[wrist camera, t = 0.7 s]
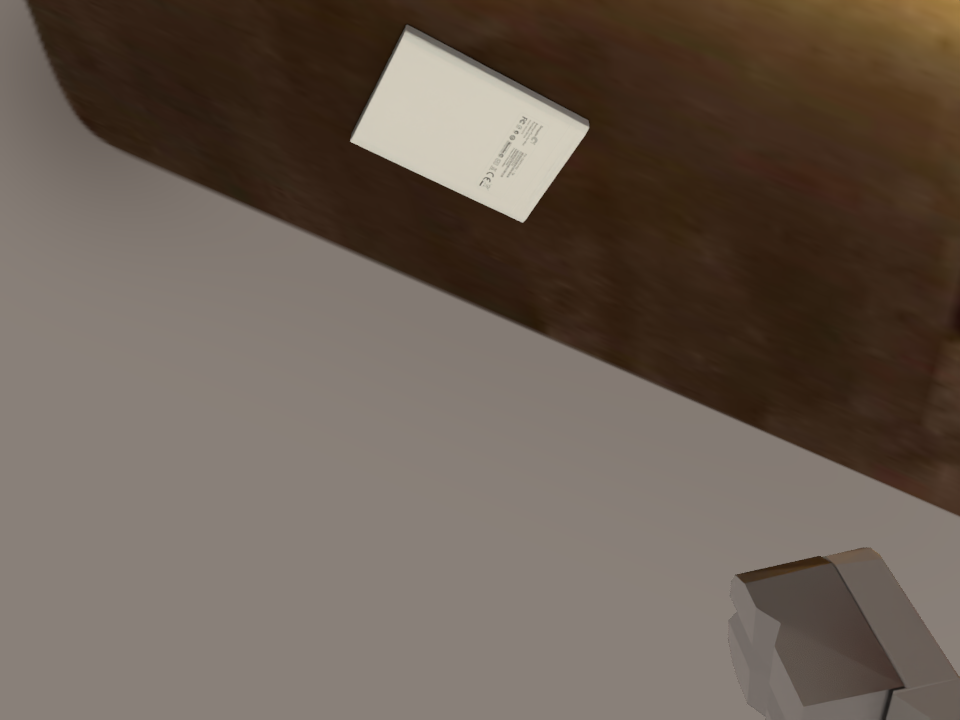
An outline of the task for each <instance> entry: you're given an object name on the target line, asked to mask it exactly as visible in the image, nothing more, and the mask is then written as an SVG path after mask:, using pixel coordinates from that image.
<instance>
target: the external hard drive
mask: <svg viewBox="0 0 960 720" xmlns="http://www.w3.org/2000/svg"><path fill="white" fill-rule="evenodd" d="M588 129H589V121H588V120H587V119H585V118H583V117H581V116H579V115H577V114H576V113H574V112H572V111H570V110H568V109H566V108H564V107H562V106H560V105H558V104H556V103H555V102H553V101H551V100H549V99H547V98H545V97H543V96H541V95H540V94H538V93H536V92H534V91H532V90H530V89H528V88H526V87H525V86H523V85H521V84H519V83H517V82H515V81H513V80H511V79H509V78H508V77H506V76H504V75H502V74H500V73H498V72H496V71H494V70H492V69H490V68H489V67H487V66H485V65H483V64H481V63H479V62H477V61H475V60H473V59H472V58H470V57H468V56H466V55H464V54H462V53H460V52H459V51H457V50H455V49H453V48H451V47H449V46H447V45H445V44H443V43H441V42H440V41H438V40H436V39H434V38H432V37H430V36H428V35H426V34H424V33H423V32H421V31H419V30H417V29H415V28H413V27H411V26H409V25H408V24H407V25H406V26H405V28H404V30H403V32H402V34H401V36H400V38H399V40H398V42H397V44H396V46H395V48H394V50H393V52H392V54H391V56H390V58H389V60H388V62H387V64H386V66H385V68H384V70H383V72H382V74H381V76H380V78H379V80H378V82H377V84H376V86H375V88H374V90H373V92H372V94H371V96H370V98H369V100H368V102H367V104H366V106H365V108H364V110H363V112H362V114H361V116H360V118H359V120H358V122H357V124H356V126H355V128H354V130H353V132H352V135H351V139H350V142H352V143H354V144H356V145H358V146H360V147H363V148H365V149H367V150H369V151H371V152H373V153H375V154H378V155H380V156H382V157H384V158H386V159H388V160H390V161H392V162H394V163H397V164H399V165H401V166H403V167H405V168H407V169H409V170H411V171H414V172H416V173H418V174H420V175H422V176H424V177H426V178H429V179H431V180H433V181H435V182H437V183H439V184H441V185H443V186H445V187H448V188H450V189H452V190H454V191H456V192H458V193H460V194H463V195H465V196H467V197H469V198H471V199H473V200H475V201H477V202H480V203H482V204H484V205H486V206H488V207H490V208H492V209H495V210H497V211H499V212H501V213H503V214H505V215H507V216H509V217H511V218H514V219H516V220H518V221H520V222H524V221H525V220H526V219H527V217H528V216H529V214H530V213H531V211H532V210H533V209H534V207H535V206H536V204H537V203H538V201H539V200H540V198H541V197H542V196H543V194H544V193H545V191H546V190H547V188H548V187H549V186H550V184H551V183H552V181H553V180H554V179H555V177H556V176H557V174H558V173H559V172H560V170H561V169H562V167H563V166H564V164H565V163H566V161H567V160H568V159H569V157H570V156H571V154H572V153H573V152H574V150H575V149H576V147H577V146H578V145H579V143H580V142H581V140H582V139H583V138H584V136H585V134H586V133H587V131H588Z"/></svg>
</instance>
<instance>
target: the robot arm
mask: <svg viewBox="0 0 960 720" xmlns="http://www.w3.org/2000/svg"><path fill="white" fill-rule="evenodd" d="M730 597H731V599H732V601H733V604H734V606H735V608H736V610H737V612H736V613H735V614H734V615H733V616H732V617H731V618H730V620H729V622H728V641H729V647H730V652H731V658H732V663H733V666H734V669H735V673H736V675H737V679H738V682H739V684H740V687H741V689H742V692H743V694H744V697H745V699H746V701H747V704H749V705H750V706H751V707H753V708H754V709H756V710H757V711H758V712H760V713H761V714H762V715H764V716H765V717H766V719H765V720H960V677H959V676H958V674H957V673H956V671H955V670H954V668H953V667H952V665H951V663H950V662H949V660H948V659H947V657H946V656H945V654H944V653H943V651H942V650H941V648H940V647H939V645H938V644H937V642H936V640H935V639H934V637H933V636H932V634H931V633H930V631H929V630H928V628H927V627H926V625H925V624H924V622H923V620H922V619H921V617H920V616H919V614H918V613H917V611H916V610H915V608H914V607H913V605H912V604H911V602H910V600H909V599H908V597H907V596H906V594H905V593H904V591H903V590H902V588H901V587H900V585H899V583H898V582H897V580H896V579H895V577H894V576H893V574H892V573H891V571H890V570H889V568H888V567H887V565H886V564H885V562H884V561H883V559H882V557H881V556H880V555H879V554H878V553H877V552H875V551H874V550H872V549H871V548H859V549H855V550H851V551H846V552H842V553H838V554H833V555H829V556H825V557H821V556H817V557H813V558H808V559H804V560H799V561H795V562H790V563H786V564H782V565H777V566H773V567H768V568H764V569H759V570H755V571H750V572H746V573H742V574H737V575H735V576H734V578H733V579H732V581H731V589H730Z"/></svg>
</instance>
